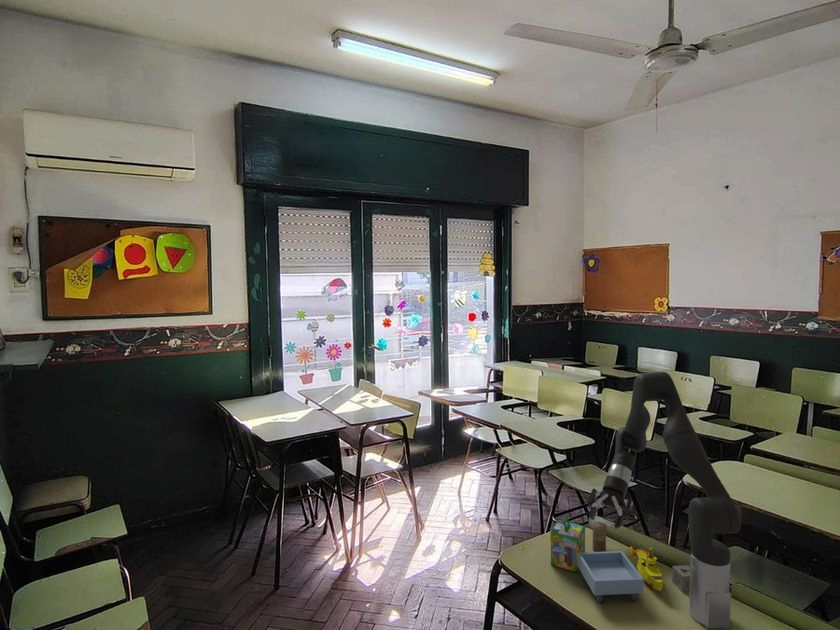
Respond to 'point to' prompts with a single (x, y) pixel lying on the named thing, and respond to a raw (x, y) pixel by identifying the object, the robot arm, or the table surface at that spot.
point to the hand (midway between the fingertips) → (603, 523)
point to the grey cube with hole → (681, 577)
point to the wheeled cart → (610, 574)
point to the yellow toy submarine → (648, 567)
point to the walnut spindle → (599, 537)
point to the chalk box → (567, 544)
